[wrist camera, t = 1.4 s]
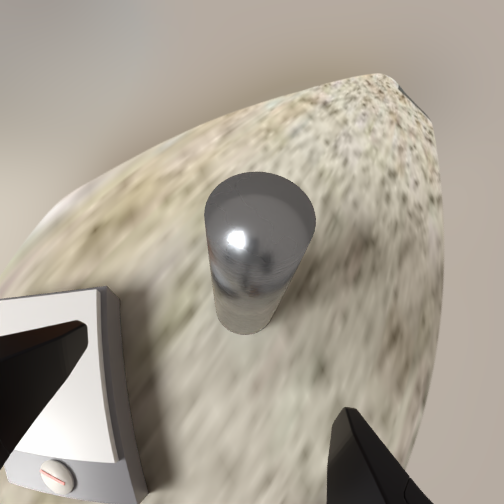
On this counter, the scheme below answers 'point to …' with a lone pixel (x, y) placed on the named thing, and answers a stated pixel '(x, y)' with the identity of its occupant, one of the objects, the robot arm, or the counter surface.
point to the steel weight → (255, 245)
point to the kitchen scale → (79, 406)
